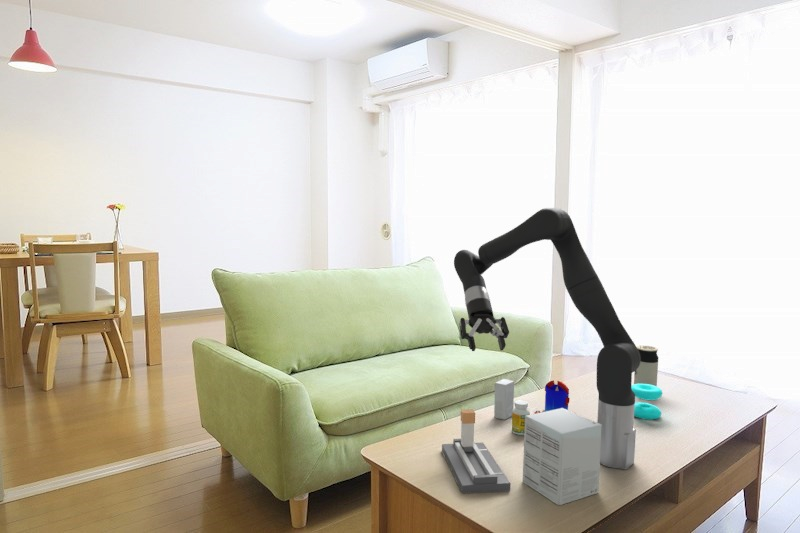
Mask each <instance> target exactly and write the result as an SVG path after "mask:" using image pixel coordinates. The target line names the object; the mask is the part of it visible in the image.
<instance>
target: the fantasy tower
mask: <svg viewBox="0 0 800 533" xmlns="http://www.w3.org/2000/svg"><path fill="white" fill-rule="evenodd" d="M544 391H545V396H544V398H545V399H544V410H542V411H540V410H536V411H534V412H533V414H536V413H541V412H546V411H550V410H555V409H560V408H564V409H567V410H569V403H570V395H569V394H570V389H569V388H568V386H567V385H566V384H565V383H564V382H562V381H559V380H557V383H556V384H555V381H554V380H550V381H549V382H547V383H546V384H545V387H544Z"/></svg>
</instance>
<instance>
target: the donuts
mask: <svg viewBox="0 0 800 533" xmlns="http://www.w3.org/2000/svg"><path fill="white" fill-rule="evenodd" d="M631 388H632V391H633V392H634V393H635V398H638V399H639V400H645V401H646V400H647V401H654V400H658V399H660V398H662V395H663V390H662V389H661V388H660V387H659V386H657V387H656V386H654V385H650V384H634V383H633V384H631ZM661 415H662V411H661V409H660V408H659V407H657V406H656V405H654V404H651V403H648V402H643V401H642V402H635V408H634V418H638V419H641V420H650V421H651V420H653V421H654V420H656V419H659V418H660V417H661Z"/></svg>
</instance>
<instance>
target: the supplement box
mask: <svg viewBox="0 0 800 533" xmlns="http://www.w3.org/2000/svg"><path fill="white" fill-rule="evenodd" d="M540 412H541V413H536V414H534V413H532V414H531V413H530V415H526V416H525V434H524V435H523V436H524V439H523V440H524V441H523V462H522V464H523V465H522V483H524V485H527V487H530V488H532V489H533V490H534V491H536V492H537V493H539V494H541V495H542V496H544V497H545V498H546V499H548V500H550V501H551V502H553V503H554V504H556V505H557V506H562V505H565V504H568V503H571V502H574V501H577V500H580V499H584V498H586V497H591V496H593V495H596V494H598V493H599V490H600V489H599V485H600V464H601V463H600V447H601V426H602V425H601V424H599V423H597V422H596V421H595V420H592V419H590V418H588V417H585V416H583V415H581V414H578V413H576V412H574V411H571V410H569V409H568V410H567V409H564V408H560V409H555V410H550V411H546V412H542V411H540Z"/></svg>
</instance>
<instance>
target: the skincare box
mask: <svg viewBox="0 0 800 533" xmlns="http://www.w3.org/2000/svg"><path fill="white" fill-rule="evenodd" d="M514 397H515V381H514V380H511V379H508V378H507V379H506V378H502V379H501V380H497V381H496V382H494V404H493V405H494V408H493V409H494V412H493V414H494V416H493V417H494V418H496V419H500V420H503V421H506V420H507V419H509V418H512V410H513V408H514V407H515V401H514V400H515V399H514Z"/></svg>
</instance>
